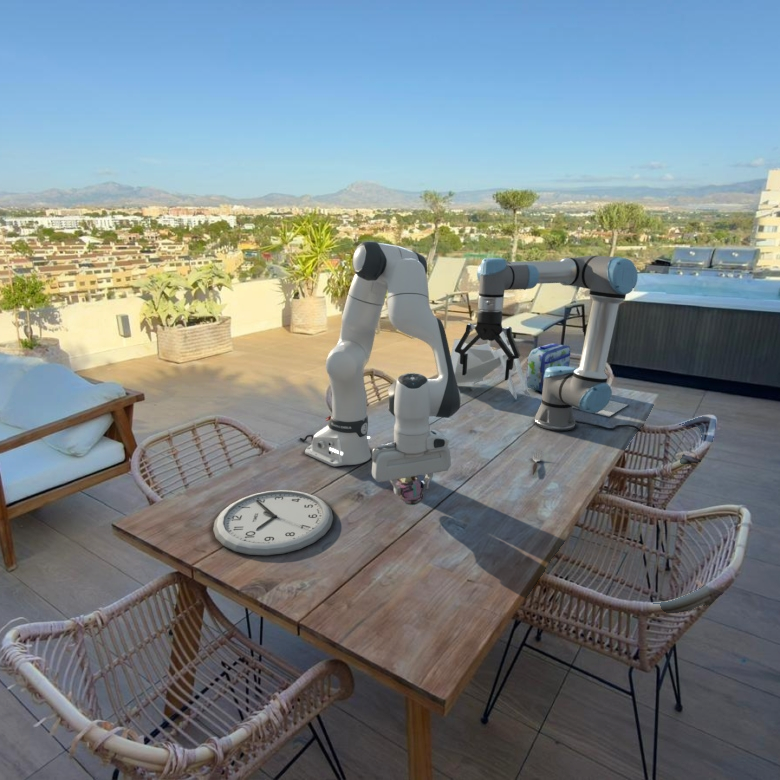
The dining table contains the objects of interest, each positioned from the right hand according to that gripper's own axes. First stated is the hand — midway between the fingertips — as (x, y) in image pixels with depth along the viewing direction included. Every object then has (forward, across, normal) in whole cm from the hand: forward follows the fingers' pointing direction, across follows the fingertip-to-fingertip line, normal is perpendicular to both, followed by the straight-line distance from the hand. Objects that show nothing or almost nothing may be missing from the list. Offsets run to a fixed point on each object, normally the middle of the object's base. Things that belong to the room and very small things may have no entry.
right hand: (485, 376), depth 167 cm
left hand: (+19, -8, -48) cm, 52 cm away
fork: (+28, +18, 0) cm, 33 cm away
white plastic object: (+28, -16, +71) cm, 78 cm away
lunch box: (+28, +12, +92) cm, 97 cm away
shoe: (+22, -13, -41) cm, 48 cm away
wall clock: (+28, -40, -61) cm, 78 cm away
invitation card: (+28, +37, +73) cm, 86 cm away
